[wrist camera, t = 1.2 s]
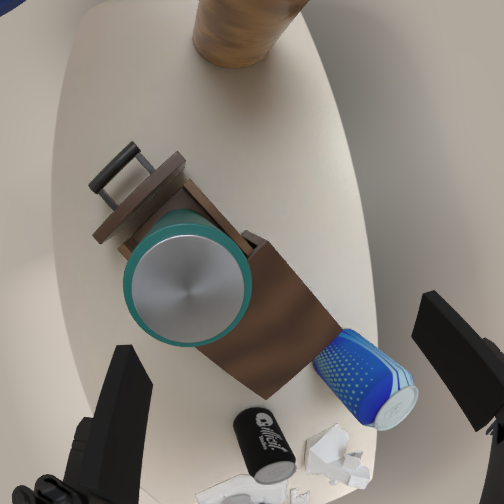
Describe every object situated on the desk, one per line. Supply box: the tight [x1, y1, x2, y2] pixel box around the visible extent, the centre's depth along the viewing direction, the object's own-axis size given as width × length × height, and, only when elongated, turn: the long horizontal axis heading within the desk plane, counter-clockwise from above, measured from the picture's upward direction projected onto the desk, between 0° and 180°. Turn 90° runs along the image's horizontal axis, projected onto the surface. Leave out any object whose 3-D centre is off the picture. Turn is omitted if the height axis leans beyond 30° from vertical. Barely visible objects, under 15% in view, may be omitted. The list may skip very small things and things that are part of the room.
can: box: [123, 208, 252, 347], centre depth 21 cm, size 6×6×17 cm
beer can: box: [313, 329, 419, 431], centre depth 33 cm, size 8×8×16 cm
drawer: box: [88, 141, 253, 260], centre depth 27 cm, size 17×11×6 cm, turn 41°
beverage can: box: [233, 408, 297, 485], centre depth 34 cm, size 7×7×12 cm
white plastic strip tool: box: [290, 488, 309, 504], centre depth 49 cm, size 5×15×1 cm, turn 6°
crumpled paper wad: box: [305, 424, 370, 489], centre depth 39 cm, size 8×14×14 cm, turn 3°
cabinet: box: [195, 230, 343, 400], centre depth 31 cm, size 14×12×8 cm
